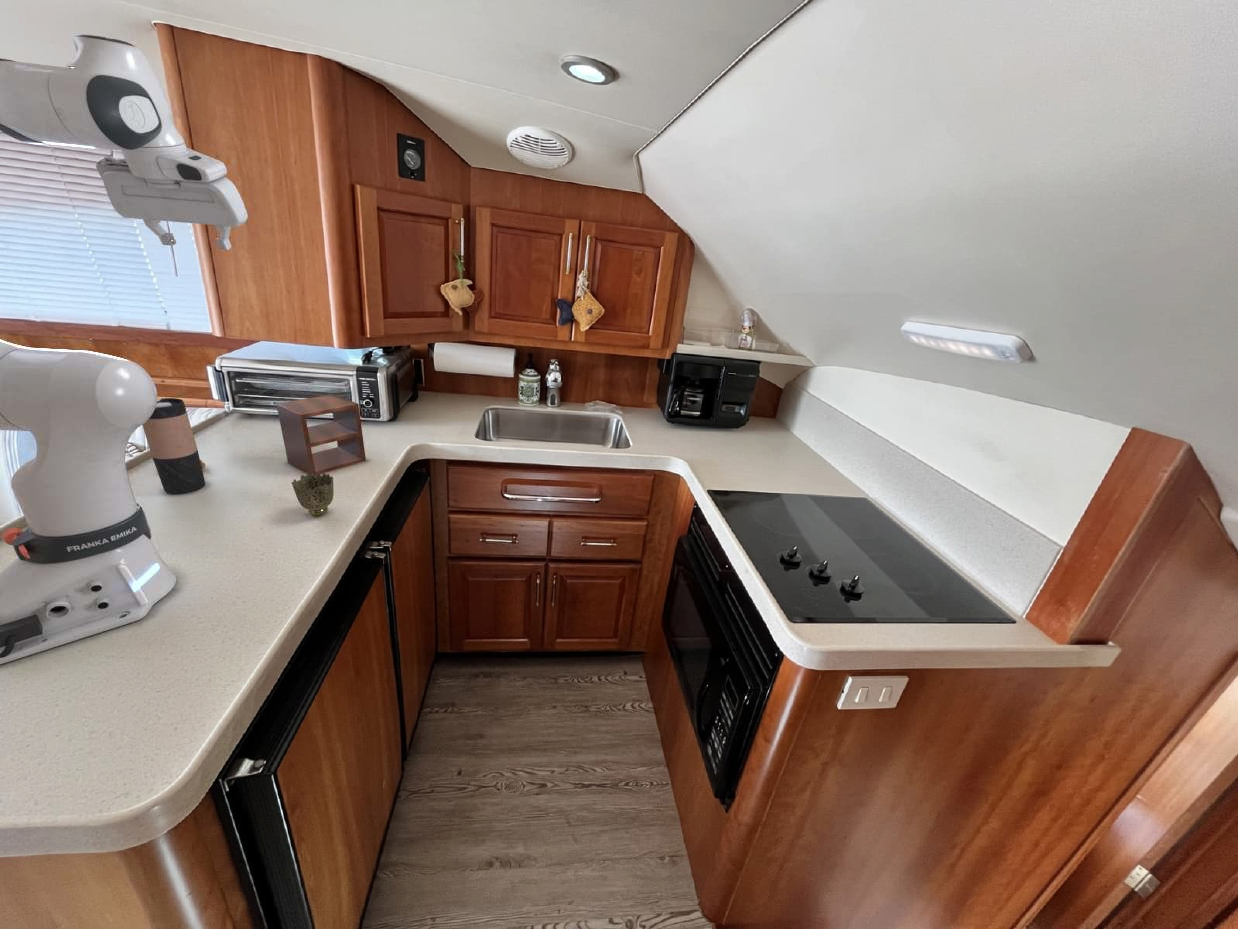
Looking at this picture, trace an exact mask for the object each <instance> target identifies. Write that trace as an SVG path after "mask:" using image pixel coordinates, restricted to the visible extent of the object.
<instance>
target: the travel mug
mask: <svg viewBox="0 0 1238 929" xmlns="http://www.w3.org/2000/svg"><path fill="white" fill-rule="evenodd" d="M141 426H142V429H143V433H144V436H145V439H146V442H147V445H148V448H149V449H148V450H149V452H150V455H151V458H152V461H153V464H154V466H155V469H156V471H157V475H158V477H159V480H160V483H161V485H162V488H163V490H164V492H165V494H167V495H175V496H177V495H186V494H191V493H194V492H197V491H199V490H201V489H203V488H204V487H205V486H206V480H205V479H206V478H205V475H204V470H202V466H201V462H200V460H201V458H200V454H199V450H198V446H197V442H196V439H195V436H194V432H193V429H192V426H191V423H190V419H189V414H188V411H187V408H186V405H185V401H184V400H183V399H181V398H175V397H164V398H161V399H159V400H157V404H156V407H155V410H154V412H153V414H152V415H151V417H150V418H149V419H148V420H147V421H146V422H145V423H144V424H142V425H141Z"/></svg>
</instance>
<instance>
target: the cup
mask: <svg viewBox="0 0 1238 929" xmlns="http://www.w3.org/2000/svg"><path fill="white" fill-rule="evenodd" d="M299 479H300V480H299ZM299 479H298V480H296V479H293V481H291V484H292V488H293V491H294V493H295V494H294V495H295V496H296V497H295V498H296V499H297V501H298V503H299V505H300V506H301V507H302V508H304V509H306V510H307V511H308V512H307V513H308V514H309V515H310V516H314V517H319V516H322V515H325V514H326V513H327V512H329V511H328V510H329V506H330V505H331V504H332V502H333V500H334V494H335V492H334V490H335V489H334V477H333V475H331V476H330V474H329V473H322V474H320V473H318V474H316V475H314V474H312V473H309V474H307V473H306V475H304V474H300V478H299Z"/></svg>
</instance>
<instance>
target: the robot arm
mask: <svg viewBox="0 0 1238 929" xmlns="http://www.w3.org/2000/svg"><path fill="white" fill-rule="evenodd" d="M73 44H74V47H75V52H76V54H75V56H74V58H73V60H71V62H69V63H68V64H66V65H65V66H58V65H49V64H40V63H32V62H31V63H30V62H23V61H17V60H12V59H7V58H2V57H1V58H0V131H1V132H2V133H4V134H5V135H7V136H9V137H11V138H12V139H15V140H17V141H19V142H22V143H26V144H31V145H49V146H51V145H53V146H54V145H55V146H57V145H58V146H69V147H79V148H88V149H101V150H110V151H120V152H121V154H122V156H123V158H120V157H119V158H118V157H117V158H113V157H111V156H110V157H109V156H102V157H101V158H100V159H98V160H97V161H96V164H95V168H96V170H97V172H98V174H99V176H100V178H101V179H102V182H103V185H104V186H103V187H104V189H105V191H106V195H107V197H108V199H109V202H110V204H111V207H113V210H114V211H115V213H117V214H118V215H119V216H120V217H122V218H123V219H134V220H142V221H143V223H144V225H145V227H146V228H148V229H149V230H150V231H151V232H153V234H155V235H156V236H157V237H158V239H159V241H160V243H161V244H162V245H163V246H170V247H171V246H174V245H177V240H176V238H175V236H174V234H173V233H172V232H168V231H167V230H166V229H165V228H164V227H163V226H162V225H160V223H161V222H170V223H171V222H173V223H184V224H185V223H186V224H195V225H196V224H197V225H211V226H214V227H215V229H216V231H217V232H220V233H219V234H220V235H219V237H218V238H216V239H214V242H215V244H216V245H217V248H218V249H219V250H225V251H226V250H228V251H229V250H230V249H232V244H231V242H230V239H229V238H230V234H231V229H232V227H235V228H239V227H241V226H243V225H244V224H245V223H246V222H247V221H248V218H249V215H248V211H247V208H246V206H245V204H244V201H243V199H242V197H241V194H240V192H239V191H238V188H237V187H236V185H235V184H234V182H233V181H232V180H230V179H229V178H228V177H226V175H227V174H228V170H227V167H226V165H225V163H224V162H223V161H221V160H219V159H216V158H213V157H211V156H208V155H206V154H204V153H201V152H198V151H196V150H194V149H192V148H188V147H187V144H186V143H185V140H184V138H183V136H182V135H181V134H180V132H179V131H178V129H177V127H176V125H175V123H174V122H175V121H174V117H173V111H172V110H173V109H171V105H170V103H169V101H168V99H167V96H166V94H165V91H164V90H163V87H162V85H161V83H160V80H159V79H158V77H157V74H156V73H155V71H154V69H153V67H152V65H151V64H150V62H149V60H148V59H147V57H146V56H145V54H144V53H143V52H142V50H141V49H140V48H139V47H137V46H135V45H134V44H133V43H130V42H127V41H124V40H121V39H117V38H109V37H105V36H100V35H92V34H80V35H79V34H78V35H75V36H74V37H73ZM157 401H158V391H157V387H156V384H155V381H154V380H153V378H152V377H151V375H150V374H149V373H148V372H147V371H146V370H145V369H144V368H143V367H142V366H141V365H140V364H138V363H136V362H134V361H132V360H129V359H124V358H121V357H117V356H113V355H109V354H104V353H101V352H94V351H90V350H72V349H55V348H54V349H53V348H37V347H36V348H35V347H28V346H22V345H18V344H14V343H11V342H7V341H5V340H2V339H0V431H11V432H12V431H13V432H30V433H31V435H32V436H33V438H34V440H35V444H36V445H35V446H36V455H35V457H33V458H32V459H30V460H28V461H27V462H26V463H24V464H23V465H21V466H20V467H19V468H18V469H17V470H16V471H15V472H14V474H13V475H12V477H11V480H10V487H11V490H12V492H13V494H14V497H15V499H16V502H17V503H18V506H19V507H20V510H21V512H22V515H23V517H24V519H25V521H26V523H27V525H28V527H27V528H26V529H25V530H24V531H23V529H21V528H20V529H19V528H18V527H11V528H7V529H6V530H4V531H3V533H1V539H3V541H4V543H5V544H7V545H9V546H12V547H13V550H14V552H15V554H16V556H17V558H15V560H13V561H12V562H11V563H10V564H9V565H7V566H6V567H5V568H4V569H3V570H1V571H0V665H2V664H3V665H4V664H6V663H9V662H12V661H16V660H19V659H21V658H22V659H23V658H25V657H29V656H31V655H35V654H37V653H41V652H44V651H47V650H51V649H53V648H56V647H58V646H63V645H65V644H68V643H72V642H74V641H77V640H80V639H84V638H87V637H90V636H94V635H97V634H100V633H103V632H105V631H109V630H112V629H115V628H118V627H121V626H124V625H128V624H131V623H134V622H137V621H139V620H141V619H143V618H144V617H146V616H147V615H148V613H149V612H150V610H151V609H152V607H153V606H154V605H155V604H156V603H158V602H159V601H160V600H162V599H163V598H164V597H165V596H167V595H168V594H169V593H170V592H171V591H172V590H173V588H174V587H175V586H176V583H177V576H176V574H175V573H174V572H173V571H172V569H170V567H169V566H168V565H167V564H166V563H165V561H164V560H163V558H162V557H161V555H160V554H159V551H158V549H157V548H156V546H155V545H154V542H153V540H152V533H151V531H152V530H151V527H150V523H149V521H148V518H147V515H146V512H145V510H143V507H142V506H140V504H139V503H138V502H137V500H136V498H135V495H134V491H133V488H132V485H131V481H130V478H129V474H128V469H127V466H126V465H127V464H126V452H127V447H128V443H129V441H130V438H131V437H132V435H133V434H134V432H135V431H136V430H137V429H138V428H140V427H141V426H142V424H144V423H145V422H146V421H147V420H148V419H149V418H150V417H151V415H152V414H153V412H154V410H155V407H156V404H157Z"/></svg>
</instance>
